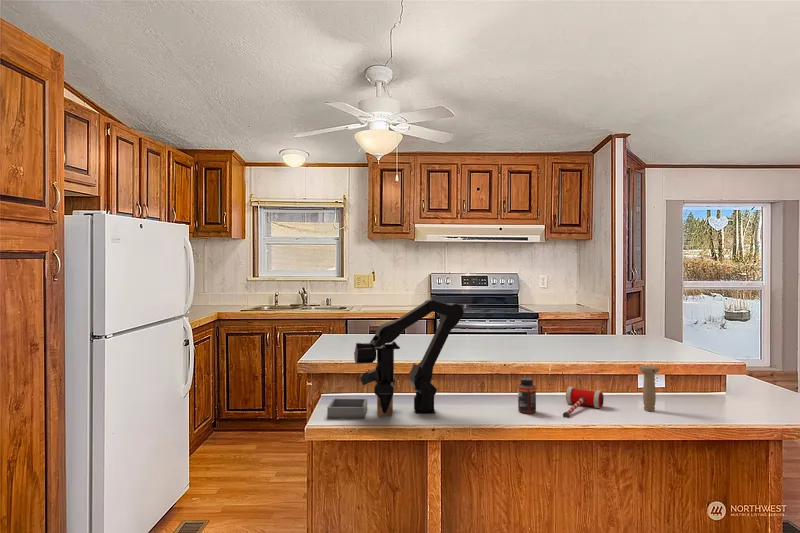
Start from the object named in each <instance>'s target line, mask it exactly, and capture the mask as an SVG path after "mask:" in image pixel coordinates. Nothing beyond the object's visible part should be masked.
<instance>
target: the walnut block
mask: <svg viewBox="0 0 800 533" xmlns="http://www.w3.org/2000/svg"><path fill="white" fill-rule="evenodd" d="M376 400H377V402H376V403H377V404H376V409H377V410H376V415H377V417H392V416H393V413H394V408H393V407H394V395H393V396H392V399H391V402H390V404H389V407H388V409H387V412H386V413H383V411H382V406H381V402H380V398H379V397H378V396H377V395H376Z"/></svg>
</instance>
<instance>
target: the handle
mask: <svg viewBox="0 0 800 533" xmlns="http://www.w3.org/2000/svg"><path fill="white" fill-rule="evenodd" d="M638 370H639V372H641V373H642V374H643V386H642V389H643V390H642V401H643V402H642V403H643V409H644V411H646V410H647V411H646V412H651V411H653V412H655V409H656V407H655V405H656V401H657V400H656V398H657V393H656V379H655V378H656V377H655V375H656V374H657V373H658V372H660V367H658V366H655V365H652V366H651V365H641V366H639V367H638Z"/></svg>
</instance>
